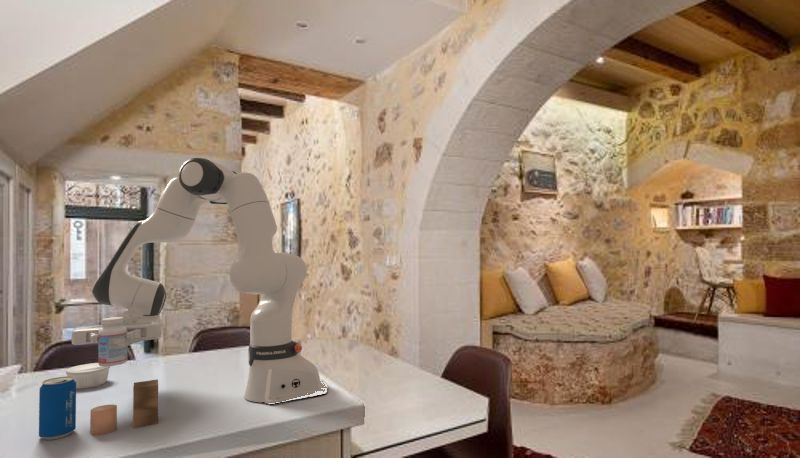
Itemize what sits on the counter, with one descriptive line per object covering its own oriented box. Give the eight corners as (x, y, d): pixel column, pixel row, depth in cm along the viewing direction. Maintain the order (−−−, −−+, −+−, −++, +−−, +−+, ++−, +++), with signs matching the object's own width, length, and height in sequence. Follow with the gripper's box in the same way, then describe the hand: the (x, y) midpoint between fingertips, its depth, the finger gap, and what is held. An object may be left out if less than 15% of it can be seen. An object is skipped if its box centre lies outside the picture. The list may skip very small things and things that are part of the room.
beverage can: (55, 442, 96) (56, 384, 96) (30, 440, 97) (31, 383, 98) (82, 430, 102) (83, 376, 103) (59, 428, 103) (59, 375, 104)
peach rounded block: (119, 425, 105) (119, 403, 105) (113, 433, 100) (113, 410, 100) (94, 428, 103) (94, 406, 103) (87, 437, 98) (87, 413, 99)
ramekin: (89, 391, 132) (89, 372, 132) (55, 389, 133) (56, 371, 134) (118, 379, 143) (118, 362, 143) (87, 378, 144) (87, 362, 145)
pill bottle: (95, 364, 112) (95, 318, 112) (124, 359, 116) (123, 315, 117) (101, 368, 108) (100, 321, 108) (130, 363, 112) (129, 317, 112)
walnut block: (157, 417, 109) (157, 379, 110) (158, 423, 105) (158, 384, 105) (133, 421, 107) (133, 382, 107) (133, 428, 103) (133, 388, 103)
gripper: (80, 320, 121) (61, 328, 108) (166, 314, 128) (157, 321, 115) (81, 344, 121) (61, 355, 108) (166, 337, 128) (157, 346, 115)
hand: (111, 337), depth 111 cm, fingers closed on pill bottle, 6 cm apart
